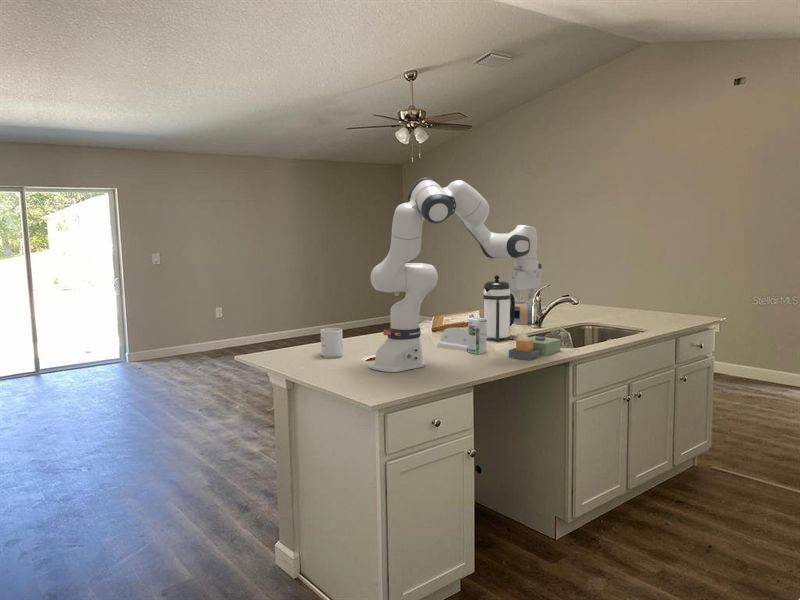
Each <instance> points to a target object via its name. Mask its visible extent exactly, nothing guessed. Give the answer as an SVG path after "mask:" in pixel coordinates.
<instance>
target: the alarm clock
mask: <svg viewBox="0 0 800 600" xmlns="http://www.w3.org/2000/svg"><path fill="white" fill-rule="evenodd" d="M532 306H533V303H527V302H526V301H525V300H522V301H521V302H517V299H516V300H515V318H514V322H513V324H516V325H528V326H530V324H532ZM510 319H511V302H510ZM532 325H533V324H532Z"/></svg>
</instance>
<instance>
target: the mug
mask: <svg viewBox="0 0 800 600" xmlns="http://www.w3.org/2000/svg"><path fill="white" fill-rule="evenodd" d="M343 339H344V338H343V329H342V328H338V327H329V328H328V327H327V328H322V329H320V349H321V350H320V353H321V356H322V357H323V358H326V359H337V358H341V356H343V354H344V351H343V350H344V345H343V344H344V343H343Z"/></svg>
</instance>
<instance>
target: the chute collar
mask: <svg viewBox="0 0 800 600" xmlns="http://www.w3.org/2000/svg"><path fill="white" fill-rule="evenodd" d="M540 352H541V349H535V348H533V351H531V352H523V351H516V347H515V348H511V349H508V358H511V359H517V360H524V361H533V360H534V359H537V358H540V357H541V355H540Z"/></svg>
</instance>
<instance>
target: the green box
mask: <svg viewBox="0 0 800 600" xmlns="http://www.w3.org/2000/svg"><path fill="white" fill-rule="evenodd" d="M526 339H531V340H533V348H535V349H541V352H540V357H541V356H542V357H547V356H550V355H553V354H555V353H558V352H560V351H561V338H553V337H547V336H536V335H533V336H529V337H526Z"/></svg>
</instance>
